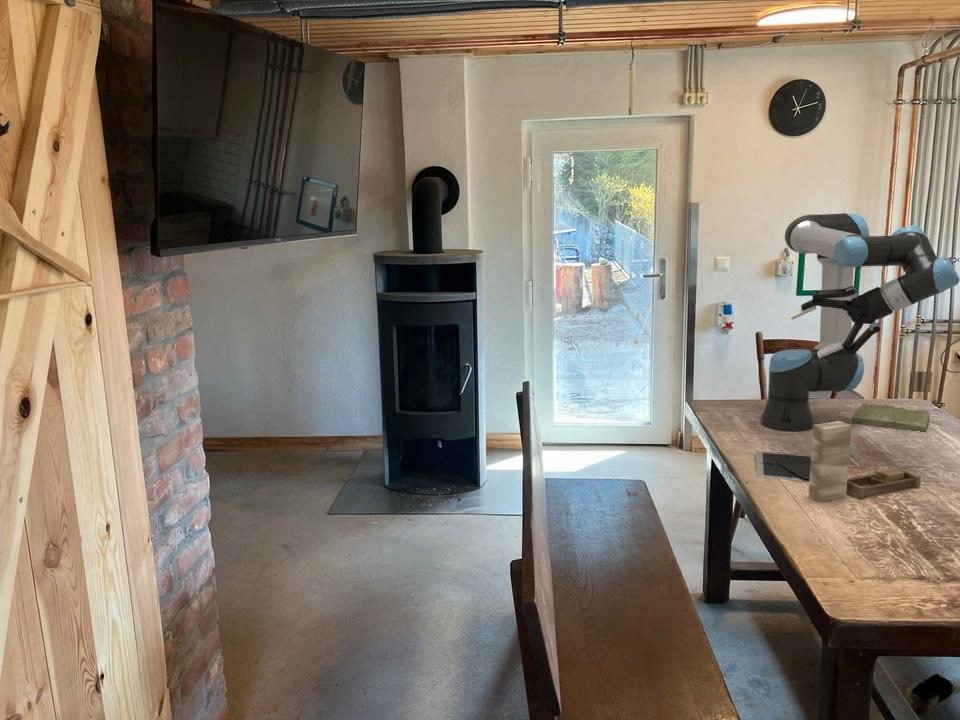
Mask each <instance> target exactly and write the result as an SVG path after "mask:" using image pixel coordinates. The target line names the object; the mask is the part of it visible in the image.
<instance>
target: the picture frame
mask: <svg viewBox="0 0 960 720" xmlns="http://www.w3.org/2000/svg"><path fill="white" fill-rule="evenodd" d="M810 465H811V454H805V453H804V454H803V453H790V452H789V453H788V452H777V451H768V450H766V451H765V450H755V472H756V473H755V474H756V475H755V476H756V478H762V479H773V480H785V481H795V482H797V481H798V482H807V483H809V480H810Z"/></svg>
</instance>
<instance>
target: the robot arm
mask: <svg viewBox="0 0 960 720" xmlns="http://www.w3.org/2000/svg"><path fill="white" fill-rule="evenodd" d="M784 242H785V244H786V246H787V247H788V248H789V249H790V250H791V251H793V252H796V253H797V254H798V253H799V254H803V255H805V254H806V255H807V254H816V260H817V261H818V262H819V263H820V264H821V289H819V290H813V291H812V292H811V293H812V295H811V296H812V299H811V300H808V301H806V302H804V303H802V304H801V305H800V308H798V309H796V310H794V311H792V312H790V319H791V320H792V321H793V320H795V319H797V318H800V317H802V316H804V315H806V314H808V313H810V312H813V311H815V310H817V307H820V326H819V342H818V344H817V345H815V346H814V347H813V354H812V351H811V350H809V349H804V348H803V349H802V348H799V349H797V348H796V349H795V348H791V349H784V350H780V351H776V352H775V353H774V354H772V355H771V357H770V361H769V367H768V370H769V371H768V373H769V374H768V393H767V394H768V395H767V401H766V403H765V406H764V410H763V412H762V413H761V415H760V424H761V425H763V427H767V428H770V429H773V430H778V431H788V432H803V431H808V430H811V429H813V425H814V417H813V416H812V410H811V406H810V403H809V399H810V397H809V396H810V392H811V393H812V392H814V393H816V392H837V393H838V392H839V393H840V392H844V391H845V392H846V391H852V390H855V389H856V388H857V387H859V385H860V384H861V382H862V379H863V378H864V377H863V376H864V373H865V363H864V362H863V361H864V359H863V357H862V355H861V354H859V353H857V352H858V351H859V350H860V348H862V347H863V346H864V345H865V344H866V343H867V342H868V341H869V340H870V339H871V338H872V336H873V335H876V334H878V332H880V331H881V326H880V323H879V322H877V320H879V319H883V318H886V317H887V316H890V315H892V314H893V313H894V312H898V311H901V310H904V309H905V308H908V307H910V306H912V305H914V304H916V303H919V302H921V301H923V300H926V299H928V298H929V299H930V298H931V297H933V296H936V295H938V294H942V293H944V292H945V291H947V290H949V289H952V288H954V287H956V286H957V285H959V283H960V276H959V275H958V272H957V270H956V269H955V267H954V265H953V264H952V262H951V260H950V259H949V258H948V257H947V256H943V257H942V256H941V257H937V255H936V254H935V251H934V248H933V246H932V245H931V242H930V239H929V237H928V236H927V235H926V233H925V232H924V231H923V229H922V228H921V227H920V226H918V225H914V224H910V225H908V224H907V225H906V226H904V227H903V226H902V227H899V228H897V229H896V230H895V231H894V232H892V234H891V235H870V230H869V226H868V223H867V221H866V220H865V218H864V217H862V216H861V215H860V214H857V213H845V212H843V213H826V214H825V213H824V214H806V215H805V214H804V215H802V216H799V217H797V218H796V219H794V220H793V221H791V222H790V223H789V225H788V226H787V227H786V229H785V233H784ZM892 266H893V267H894V266H895V267H896V266H897V267H899V266H901V269H902V270H903V272H904V274H903V275H901V276H897V277H896V278H893V279H892V280H890V281H888V282H885V283H883V284H881V287H880V286H877V287H874V288H872V289H870V290H868V291H865V292H864V293H862V294H858V293H857V291H856V287H855V286H854V268H859V267H892ZM852 323H854V324H853V325H852ZM864 324H865V325H868V327H867V328H866V329H865V331H863V332H862V333H861V334H860V336H859V337H858V338H857V339H856V337H857V336H858V334H859V332H860V330H862V328H863V326H864ZM855 339H856V340H855Z"/></svg>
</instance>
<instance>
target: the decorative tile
mask: <svg viewBox="0 0 960 720" xmlns="http://www.w3.org/2000/svg"><path fill="white" fill-rule="evenodd" d="M929 422H930V412H929V411H926V410H917V409H916V410H915V409H906V408H905V407H895V406H894V405H889V404H876V403H862V404H861V405H860V406H859V407H858V408H857V410H856V411H855V412H854V414H853V415H852V417H851V424H853V425H861V426H867V427H868V426H869V427H874V428H876V427H877V428H884V429H891V428H892V429H891V430H898V429H901V430H900V431H906V430H911V431H910V432H913V431H920V432H919V433H921V432H926V433H927V431H928V427H929Z"/></svg>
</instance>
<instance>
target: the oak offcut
mask: <svg viewBox="0 0 960 720" xmlns="http://www.w3.org/2000/svg"><path fill="white" fill-rule="evenodd" d="M874 474H875V478H876V479H879V480H881V481H884V482H885V483H888V482H893V481H898V480H904V472H902V471H899V470H896V469H893V468H883V469H877V470H875V473H874Z"/></svg>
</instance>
